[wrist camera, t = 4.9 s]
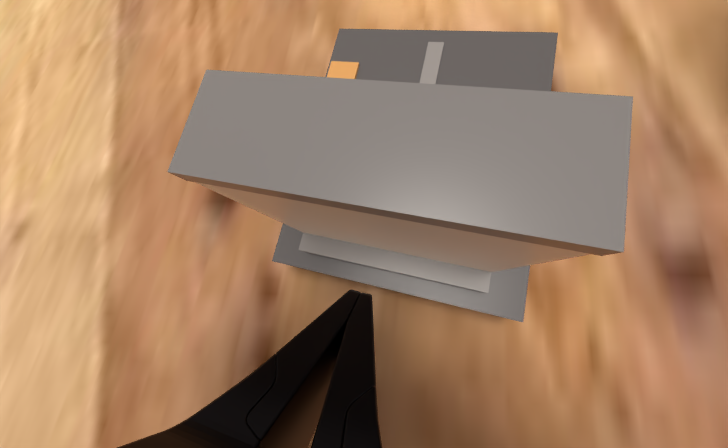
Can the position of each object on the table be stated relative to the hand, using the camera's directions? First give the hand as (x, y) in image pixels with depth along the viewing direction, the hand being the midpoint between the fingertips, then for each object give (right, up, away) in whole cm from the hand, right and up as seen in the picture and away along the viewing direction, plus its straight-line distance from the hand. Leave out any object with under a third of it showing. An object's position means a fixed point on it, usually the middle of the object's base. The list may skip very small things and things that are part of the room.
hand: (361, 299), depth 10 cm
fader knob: (+2, +3, +5) cm, 6 cm away
